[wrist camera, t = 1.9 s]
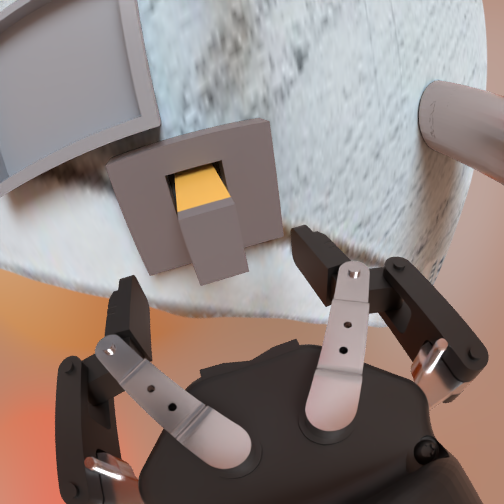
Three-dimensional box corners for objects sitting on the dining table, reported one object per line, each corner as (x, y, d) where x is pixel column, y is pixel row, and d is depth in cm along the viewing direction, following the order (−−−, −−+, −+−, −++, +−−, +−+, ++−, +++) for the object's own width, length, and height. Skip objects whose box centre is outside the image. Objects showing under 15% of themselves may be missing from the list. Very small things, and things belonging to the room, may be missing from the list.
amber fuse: (210, 161, 21) (235, 203, 14) (221, 209, 24) (248, 271, 17) (174, 171, 21) (178, 220, 14) (188, 219, 23) (200, 285, 16)
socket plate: (258, 117, 20) (269, 121, 18) (273, 223, 26) (283, 236, 24) (112, 157, 19) (105, 165, 17) (150, 259, 24) (149, 275, 22)
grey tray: (132, -36, 10) (128, -52, 7) (161, 121, 18) (159, 125, 16) (-22, 46, 7) (-40, 45, 5) (9, 187, 16) (-6, 201, 14)
